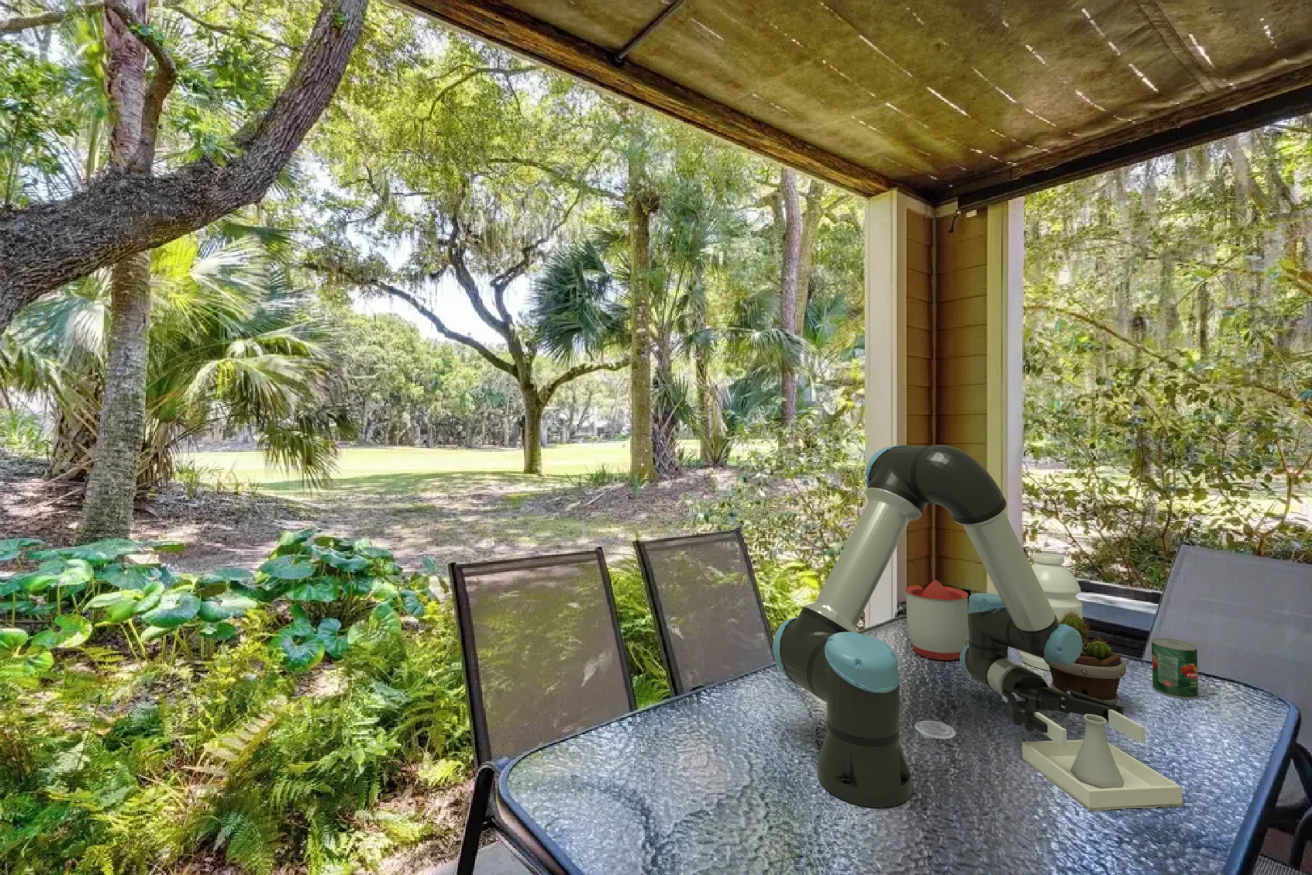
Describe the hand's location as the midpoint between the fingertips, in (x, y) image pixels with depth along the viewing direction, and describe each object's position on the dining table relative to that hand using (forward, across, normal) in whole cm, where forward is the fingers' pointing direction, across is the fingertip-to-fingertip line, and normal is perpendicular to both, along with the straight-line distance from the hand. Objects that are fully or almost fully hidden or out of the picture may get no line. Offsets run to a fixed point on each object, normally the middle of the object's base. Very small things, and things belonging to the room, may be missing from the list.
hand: (1103, 736), depth 97 cm
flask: (-1, 0, -8) cm, 8 cm away
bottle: (-53, -30, -8) cm, 61 cm away
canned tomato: (-34, -46, -8) cm, 57 cm away
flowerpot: (-30, -20, -8) cm, 37 cm away
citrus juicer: (-62, -5, -8) cm, 63 cm away
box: (-1, 0, -8) cm, 8 cm away
